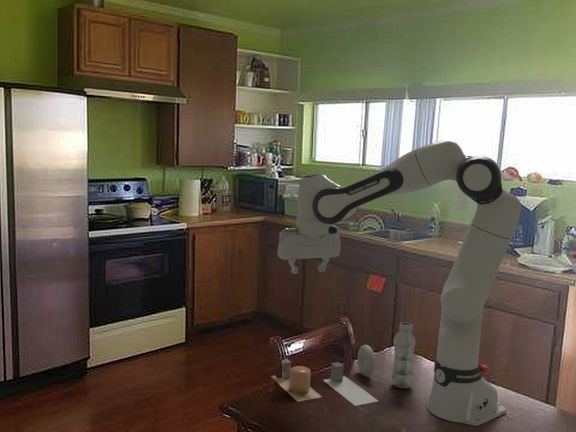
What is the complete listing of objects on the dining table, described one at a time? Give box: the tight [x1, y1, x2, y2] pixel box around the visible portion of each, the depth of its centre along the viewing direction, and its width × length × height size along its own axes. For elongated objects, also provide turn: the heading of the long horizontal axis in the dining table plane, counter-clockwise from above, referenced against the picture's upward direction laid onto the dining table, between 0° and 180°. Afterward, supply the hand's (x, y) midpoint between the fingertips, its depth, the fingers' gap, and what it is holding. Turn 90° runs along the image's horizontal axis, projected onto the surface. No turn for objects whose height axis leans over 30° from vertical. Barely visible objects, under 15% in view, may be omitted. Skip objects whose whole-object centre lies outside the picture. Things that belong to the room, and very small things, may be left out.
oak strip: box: [270, 358, 323, 403], centre depth 163 cm, size 8×18×6 cm, turn 26°
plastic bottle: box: [390, 321, 416, 390], centre depth 168 cm, size 6×7×20 cm
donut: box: [357, 344, 376, 378], centre depth 175 cm, size 10×3×10 cm, turn 10°
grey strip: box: [322, 361, 379, 407], centre depth 162 cm, size 8×18×6 cm, turn 26°
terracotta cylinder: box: [289, 365, 312, 394], centre depth 160 cm, size 6×6×6 cm
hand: (308, 272), depth 167 cm, fingers open, 8 cm apart
